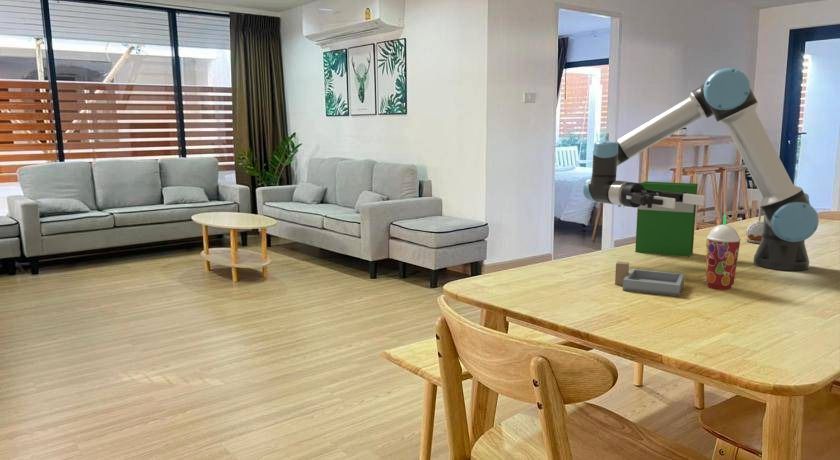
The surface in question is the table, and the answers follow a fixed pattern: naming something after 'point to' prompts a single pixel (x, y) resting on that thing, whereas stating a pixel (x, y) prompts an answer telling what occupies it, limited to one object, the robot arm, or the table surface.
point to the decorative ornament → (755, 230)
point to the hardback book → (667, 223)
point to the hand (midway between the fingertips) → (689, 202)
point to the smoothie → (721, 256)
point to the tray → (648, 280)
